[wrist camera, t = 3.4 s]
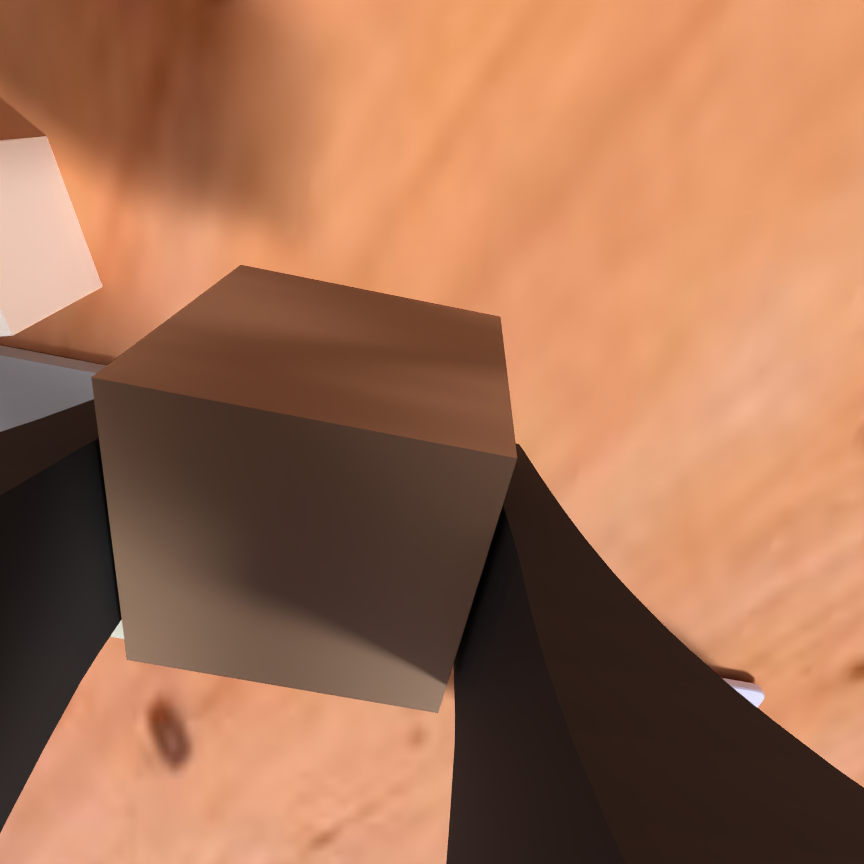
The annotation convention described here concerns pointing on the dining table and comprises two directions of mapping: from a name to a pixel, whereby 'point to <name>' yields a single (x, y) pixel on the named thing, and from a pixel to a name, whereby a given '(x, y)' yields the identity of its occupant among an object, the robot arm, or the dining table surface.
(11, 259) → the cream block
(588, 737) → the robot arm
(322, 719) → the dining table surface
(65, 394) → the build board
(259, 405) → the walnut cube
